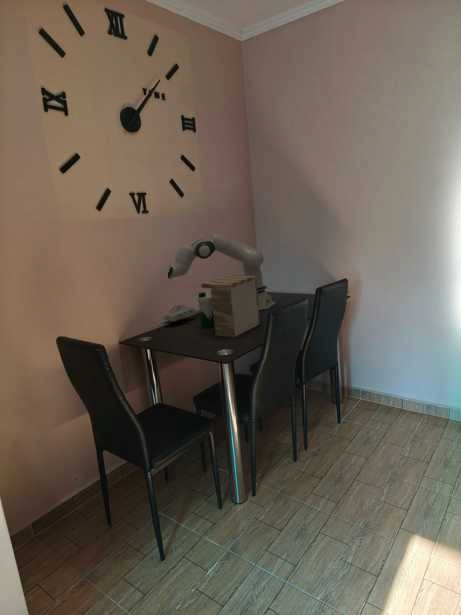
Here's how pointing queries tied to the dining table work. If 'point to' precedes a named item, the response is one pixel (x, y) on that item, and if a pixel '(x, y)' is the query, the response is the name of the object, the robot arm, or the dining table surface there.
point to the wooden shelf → (234, 304)
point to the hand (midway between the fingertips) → (190, 314)
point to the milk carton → (206, 310)
